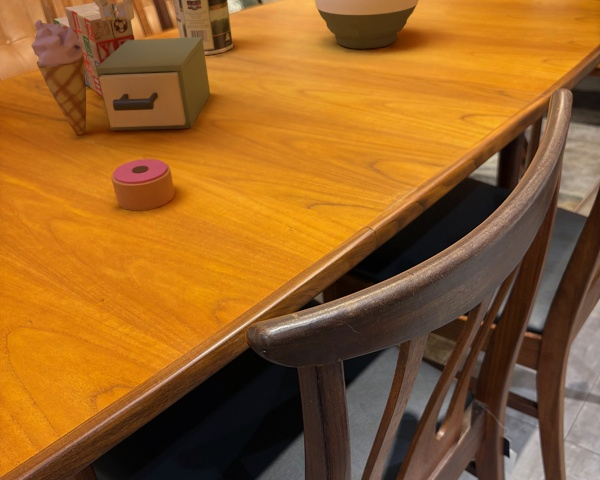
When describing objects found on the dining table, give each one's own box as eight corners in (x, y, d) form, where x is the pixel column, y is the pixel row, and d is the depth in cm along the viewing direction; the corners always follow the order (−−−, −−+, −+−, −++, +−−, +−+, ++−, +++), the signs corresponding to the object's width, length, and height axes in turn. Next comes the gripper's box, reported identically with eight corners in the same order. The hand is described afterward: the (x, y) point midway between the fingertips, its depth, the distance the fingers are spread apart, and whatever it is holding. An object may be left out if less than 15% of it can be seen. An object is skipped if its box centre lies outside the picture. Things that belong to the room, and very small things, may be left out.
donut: (109, 211, 67) (102, 182, 65) (127, 184, 72) (120, 157, 70) (167, 210, 66) (161, 181, 64) (180, 183, 71) (175, 156, 69)
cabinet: (191, 128, 85) (180, 64, 80) (110, 130, 86) (95, 68, 81) (210, 94, 97) (202, 36, 92) (139, 96, 98) (127, 39, 93)
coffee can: (225, 39, 125) (216, -39, 117) (239, 50, 117) (230, -32, 109) (176, 46, 122) (163, -33, 114) (186, 58, 115) (173, -26, 106)
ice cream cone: (56, 129, 88) (22, 17, 79) (100, 120, 90) (71, 10, 81) (61, 144, 83) (25, 26, 74) (107, 135, 85) (78, 19, 76)
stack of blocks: (68, 73, 111) (47, -1, 104) (101, 66, 114) (83, -7, 106) (109, 102, 96) (89, 18, 89) (146, 93, 99) (129, 11, 92)
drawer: (177, 137, 81) (167, 84, 77) (100, 139, 82) (87, 87, 77) (203, 93, 95) (196, 47, 91) (137, 95, 96) (128, 50, 92)
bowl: (390, 25, 127) (392, -27, 121) (436, 46, 112) (441, -11, 106) (301, 37, 122) (299, -15, 117) (336, 62, 107) (335, 2, 102)
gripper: (-17, -111, 64) (25, 29, 73) (173, -123, 63) (194, 22, 71) (9, -114, 69) (46, 17, 78) (186, -126, 68) (204, 10, 76)
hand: (118, 19), depth 74 cm, fingers closed
